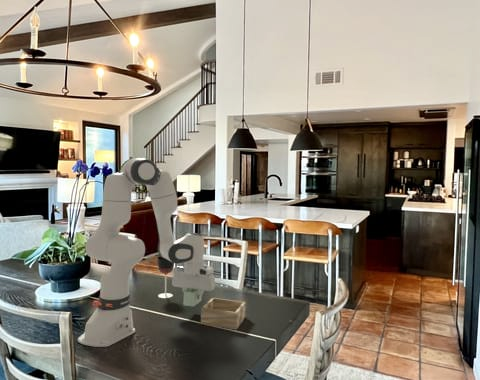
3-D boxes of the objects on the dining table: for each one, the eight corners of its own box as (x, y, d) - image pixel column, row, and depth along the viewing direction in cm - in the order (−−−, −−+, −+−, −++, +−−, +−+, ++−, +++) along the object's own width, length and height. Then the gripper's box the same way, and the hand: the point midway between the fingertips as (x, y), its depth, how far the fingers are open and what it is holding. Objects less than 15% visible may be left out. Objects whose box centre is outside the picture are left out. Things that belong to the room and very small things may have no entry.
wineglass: (172, 298, 191) (172, 259, 190) (155, 297, 191) (155, 259, 190) (175, 293, 199) (175, 256, 197) (159, 292, 199) (159, 255, 198)
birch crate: (236, 329, 156) (236, 313, 155) (200, 324, 160) (201, 308, 160) (245, 317, 169) (245, 301, 169) (212, 312, 173) (212, 297, 173)
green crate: (193, 306, 166) (193, 293, 166) (183, 305, 167) (183, 291, 167) (201, 300, 174) (202, 287, 174) (191, 299, 176) (192, 286, 176)
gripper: (170, 267, 170) (169, 297, 171) (211, 272, 164) (210, 303, 165) (176, 264, 176) (175, 293, 177) (216, 268, 170) (215, 298, 171)
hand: (192, 298), depth 171 cm, fingers closed on green crate, 5 cm apart
